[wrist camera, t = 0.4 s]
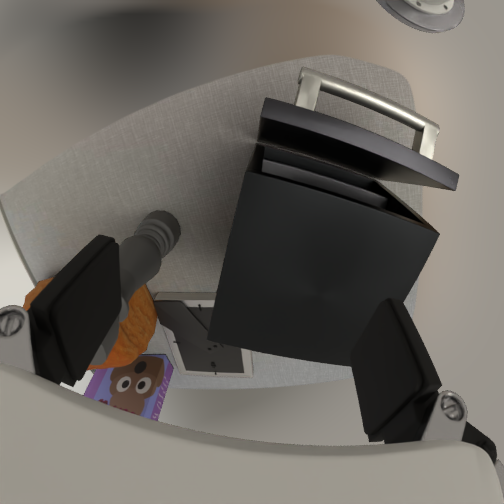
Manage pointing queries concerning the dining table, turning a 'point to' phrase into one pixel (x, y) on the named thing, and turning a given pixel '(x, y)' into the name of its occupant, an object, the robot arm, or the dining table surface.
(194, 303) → the picture frame
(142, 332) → the bread
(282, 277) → the oven
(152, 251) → the candle holder
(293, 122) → the oven door
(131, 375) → the cereal box
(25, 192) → the dining table surface
